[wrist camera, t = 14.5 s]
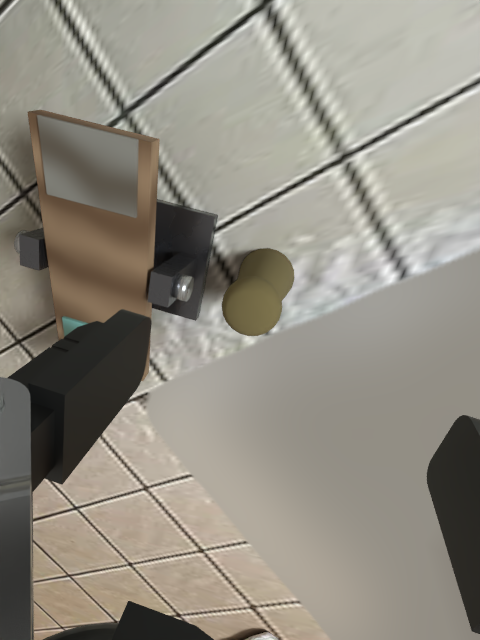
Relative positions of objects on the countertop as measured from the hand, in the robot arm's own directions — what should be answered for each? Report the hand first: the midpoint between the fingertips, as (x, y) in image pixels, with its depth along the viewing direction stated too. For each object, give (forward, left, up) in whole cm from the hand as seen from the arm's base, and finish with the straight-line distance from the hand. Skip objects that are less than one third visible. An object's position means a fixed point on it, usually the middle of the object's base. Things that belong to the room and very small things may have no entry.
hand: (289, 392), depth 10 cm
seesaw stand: (+8, -18, -31) cm, 37 cm away
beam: (+8, -18, -24) cm, 32 cm away
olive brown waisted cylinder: (+7, -3, -32) cm, 33 cm away
